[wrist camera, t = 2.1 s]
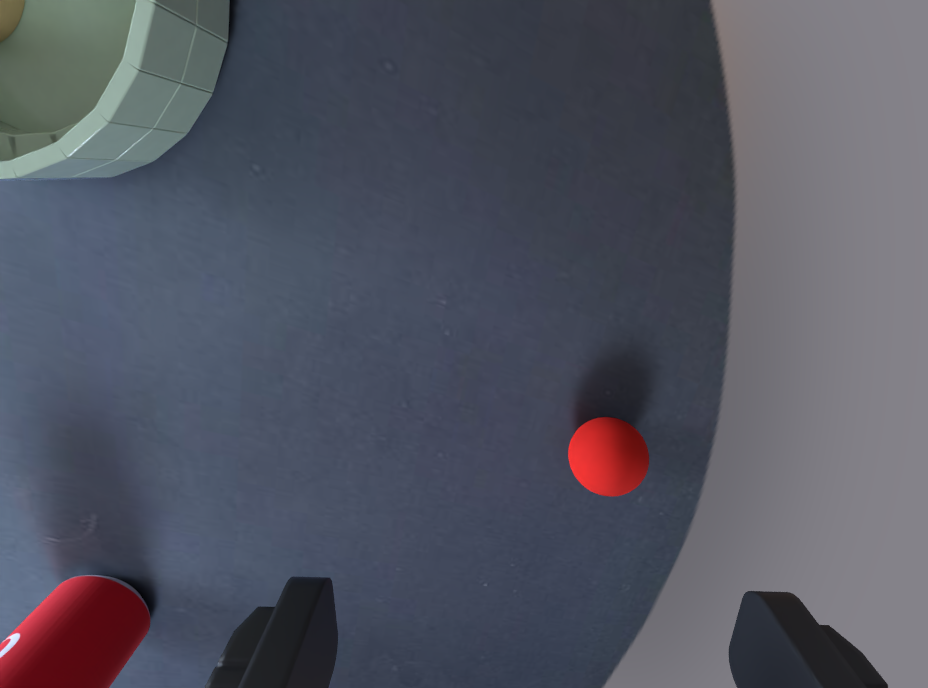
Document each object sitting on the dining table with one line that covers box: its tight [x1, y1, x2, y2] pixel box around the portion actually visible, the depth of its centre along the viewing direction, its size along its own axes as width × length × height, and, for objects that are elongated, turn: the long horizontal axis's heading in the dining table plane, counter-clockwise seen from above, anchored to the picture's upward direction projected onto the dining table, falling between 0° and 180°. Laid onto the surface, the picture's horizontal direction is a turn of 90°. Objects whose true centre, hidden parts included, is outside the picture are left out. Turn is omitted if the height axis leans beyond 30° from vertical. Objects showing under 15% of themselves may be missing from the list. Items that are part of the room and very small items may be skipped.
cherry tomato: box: [568, 417, 649, 496], centre depth 25 cm, size 4×4×4 cm
